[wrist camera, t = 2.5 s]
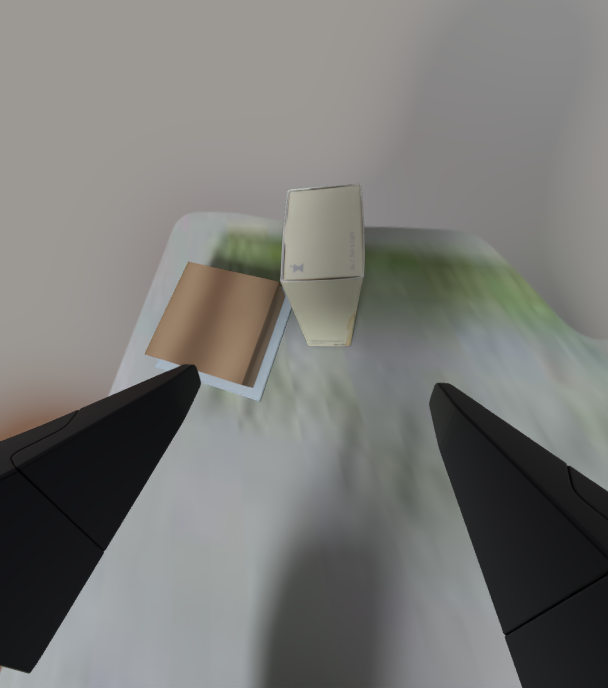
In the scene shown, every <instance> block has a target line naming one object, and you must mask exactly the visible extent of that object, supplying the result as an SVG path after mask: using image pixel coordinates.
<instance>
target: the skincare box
mask: <svg viewBox="0 0 608 688" xmlns="http://www.w3.org/2000/svg"><path fill="white" fill-rule="evenodd" d="M364 250H365V247H364V217H363V201H362V188H361V185H359V184H356V185H355V184H354V185H341V186H326V187H313V188H300V189H291V190H289V191H288V192H287V200H286V208H285V219H284V228H283V243H282V258H281V276H280V281H281V284H282V286H283V288H284V291H285V293H286V295H287V297H288V300H289V302H290V305H291V307H292V309H293V312H294V314H295V316H296V318H297V321H298V323H299V325H300V328H301V330H302V332H303V335H304V337H305V339H306V342H307V344H308V345H309V346H350V345H351V340H352V334H353V328H354V322H355V317H356V312H357V306H358V301H359V296H360V291H361V287H362V282H363V278H364V261H365V253H364Z"/></svg>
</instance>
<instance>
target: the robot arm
mask: <svg viewBox="0 0 608 688" xmlns="http://www.w3.org/2000/svg"><path fill="white" fill-rule="evenodd" d="M200 385H201V380H200V376H199V373H198V370H197V367H196V366H195V365H194V364H183V365H181V366H178V367H176V368H174V369H171V370H169V371H167V372H164V373H162V374H160V375H157V376H155V377H153V378H150V379H148V380H146V381H144V382H141V383H139V384H137V385H134V386H132V387H130V388H127V389H125V390H123V391H120V392H118V393H116V394H113V395H111V396H109V397H107V398H104V399H102V400H100V401H97V402H95V403H93V404H90V405H88V406H86V407H83V408H81V409H80V410H76V411H74V412H72V413H69V414H67V415H65V416H62V417H60V418H58V419H55V420H53V421H51V422H48V423H46V424H43V425H41V426H38V427H36V428H34V429H31V430H28V431H26V432H23V433H21V434H18V435H16V436H13V437H11V438H8V439H6V440H3V441H0V666H3V667H6V668H10V669H14V670H17V671H21V672H25V673H28V674H29V673H30V672H31V671H32V670H33V668H34V667H35V665H36V664H37V663H38V661H39V659H40V658H41V656H42V655H43V653H44V651H45V650H46V648H47V646H48V645H49V643H50V641H51V640H52V638H53V636H54V635H55V633H56V631H57V630H58V628H59V627H60V625H61V623H62V622H63V620H64V618H65V617H66V615H67V613H68V612H69V610H70V608H71V607H72V605H73V603H74V602H75V600H76V598H77V597H78V595H79V593H80V592H81V590H82V588H83V587H84V585H85V583H86V582H87V580H88V579H89V577H90V575H91V574H92V572H93V570H94V569H95V567H96V565H97V564H98V562H99V560H100V559H101V557H102V555H103V554H104V551H105V550H106V548H107V547H108V545H109V544H110V542H111V540H112V539H113V537H114V535H115V534H116V532H117V530H118V529H119V527H120V525H121V524H122V522H123V520H124V519H125V517H126V515H127V514H128V512H129V510H130V509H131V507H132V506H133V504H134V502H135V501H136V499H137V497H138V496H139V494H140V492H141V491H142V489H143V487H144V486H145V484H146V482H147V481H148V479H149V477H150V476H151V474H152V472H153V471H154V469H155V468H156V466H157V464H158V463H159V461H160V459H161V458H162V456H163V454H164V453H165V451H166V449H167V448H168V446H169V444H170V443H171V441H172V439H173V438H174V436H175V434H176V433H177V431H178V430H179V428H180V426H181V425H182V423H183V421H184V419H185V417H186V415H187V413H188V411H189V409H190V407H191V405H192V403H193V401H194V399H195V397H196V394H197V392H198V390H199V388H200ZM429 406H430V411H431V415H432V420H433V424H434V429H435V433H436V438H437V442H438V446H439V450H440V453H441V456H442V459H443V461H444V464H445V467H446V470H447V473H448V476H449V479H450V481H451V484H452V487H453V490H454V493H455V496H456V499H457V501H458V504H459V507H460V510H461V513H462V516H463V519H464V521H465V524H466V527H467V530H468V533H469V536H470V539H471V542H472V544H473V547H474V550H475V553H476V556H477V559H478V562H479V564H480V567H481V570H482V573H483V576H484V579H485V582H486V584H487V587H488V590H489V593H490V596H491V599H492V602H493V604H494V607H495V610H496V613H497V616H498V619H499V622H500V624H501V627H502V630H503V633H504V635H506V636H505V639H506V642H507V645H508V648H509V651H510V654H511V657H512V659H513V662H514V665H515V668H516V671H517V674H518V677H519V680H520V682H521V685H522V688H608V491H606V490H605V489H603V488H602V487H600V486H599V485H597V484H596V483H594V482H593V481H591V480H590V479H588V478H587V477H586V476H584V475H583V474H581V473H580V472H578V471H577V470H575V469H574V468H572V467H571V466H567V464H566V463H565V462H564V461H562V460H561V459H559V458H558V457H556V456H555V455H553V454H552V453H550V452H549V451H548V450H546V449H545V448H543V447H542V446H540V445H539V444H537V443H536V442H534V441H533V440H531V439H530V438H529V437H527V436H526V435H524V434H523V433H521V432H520V431H518V430H517V429H515V428H514V427H512V426H511V425H510V424H508V423H507V422H505V421H504V420H502V419H501V418H499V417H498V416H496V415H495V414H494V413H492V412H491V411H489V410H488V409H486V408H485V407H483V406H482V405H480V404H479V403H477V402H476V401H475V400H473V399H472V398H470V397H469V396H467V395H466V394H464V393H463V392H461V391H460V390H458V389H457V388H456V387H454V386H453V385H451V384H449V383H436V384H435V386H434V389H433V392H432V395H431V398H430V402H429Z"/></svg>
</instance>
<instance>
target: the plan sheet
mask: <svg viewBox="0 0 608 688" xmlns="http://www.w3.org/2000/svg"><path fill="white" fill-rule="evenodd" d="M282 290H283V292H284V294H285V299H284V302H283V305H282V308H281V310H280V313H279V316H278V319H277V322H276V325H275V328H274V330H273V333H272V336H271V339H270V342H269V345H268V347H267V350H266V353H265V356H264V359H263V362H262V364H261V367H260V370H259V373H258V376H257V379H256V381H255V384H254V387H253V388H251V387H247V386H243V385H240V384H236V383H233V382H230V381H227V380H224V379H221V378H218V377H215V376H212V375H209V374H205V373H202V372H199V371H198V373H199V376H200V380H201V382H202V383H205V384H208V385H211V386H214V387H217V388H220V389H223V390H226V391H229V392H232V393H235V394H238V395H241V396H244V397H247V398H250V399H253V400H256V401H260V400H261V397H262V394H263V391H264V388H265V386H266V383H267V380H268V377H269V374H270V371H271V368H272V365H273V362H274V359H275V356H276V353H277V350H278V347H279V345H280V342H281V339H282V336H283V333H284V330H285V327H286V324H287V321H288V318H289V315H290V312H291V309H292V307H291V305H290V302H289V300H288V297H287V295H286V293H285V291H284V288H283V287H282ZM178 366H181V365H177V364H174V363H171V362H168V361H165V360H162V359H158V361H157V363H156V365H155V367H157V368H160V369H163V370H166V371H169V370H171V369H174V368H176V367H178Z"/></svg>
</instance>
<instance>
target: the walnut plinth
mask: <svg viewBox="0 0 608 688" xmlns="http://www.w3.org/2000/svg"><path fill="white" fill-rule="evenodd" d="M284 299H285V294H284V292H283V290H282V287H281V285H280V283H279V282H278V281H273V280H269V279H264V278H260V277H255V276H251V275H246V274H242V273H237V272H232V271H228V270H223V269H219V268H214V267H210V266H205V265H201V264H196V263H192V262H188V263H187V265H186V267H185V269H184V272H183V274H182V276H181V278H180V280H179V282H178V284H177V286H176V288H175V291H174V293H173V295H172V297H171V299H170V301H169V303H168V305H167V308H166V310H165V312H164V314H163V316H162V318H161V320H160V322H159V324H158V327H157V329H156V331H155V333H154V335H153V337H152V339H151V341H150V343H149V346H148V348H147V350H146V352H145V354H146V355H150V356H153V357H156V358H159V359H162V360H165V361H168V362H171V363H174V364H177V365H183V364H194V365H195V366H196V367H197V370H198V371H199V372H202V373H205V374H209V375H212V376H215V377H218V378H221V379H224V380H227V381H230V382H233V383H236V384H240V385H243V386H247V387H251V388H253V387H254V384H255V381H256V379H257V376H258V373H259V370H260V367H261V364H262V362H263V359H264V356H265V353H266V350H267V347H268V345H269V342H270V339H271V336H272V333H273V330H274V328H275V325H276V322H277V319H278V316H279V313H280V310H281V308H282V305H283V302H284Z"/></svg>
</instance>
